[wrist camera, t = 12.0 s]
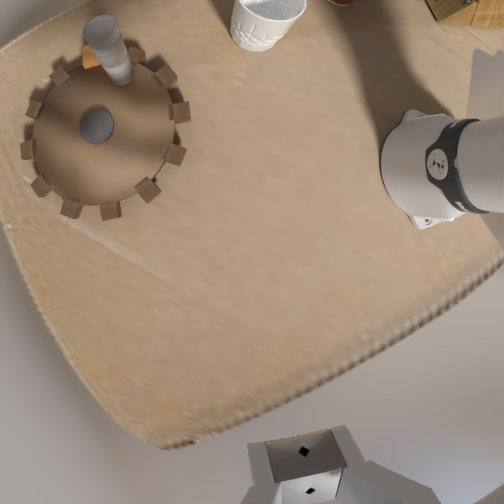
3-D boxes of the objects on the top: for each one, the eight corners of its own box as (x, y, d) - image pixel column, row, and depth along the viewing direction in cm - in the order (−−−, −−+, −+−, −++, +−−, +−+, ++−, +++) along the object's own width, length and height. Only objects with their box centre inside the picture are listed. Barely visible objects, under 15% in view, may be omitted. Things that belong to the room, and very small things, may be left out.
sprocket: (70, 39, 30) (33, -13, 17) (217, 80, 35) (234, 26, 22) (7, 190, 32) (-58, 192, 19) (151, 244, 37) (132, 271, 24)
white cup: (280, 13, 36) (303, -24, 27) (284, 57, 38) (309, 25, 28) (225, 9, 35) (236, -32, 25) (225, 55, 36) (237, 18, 27)
